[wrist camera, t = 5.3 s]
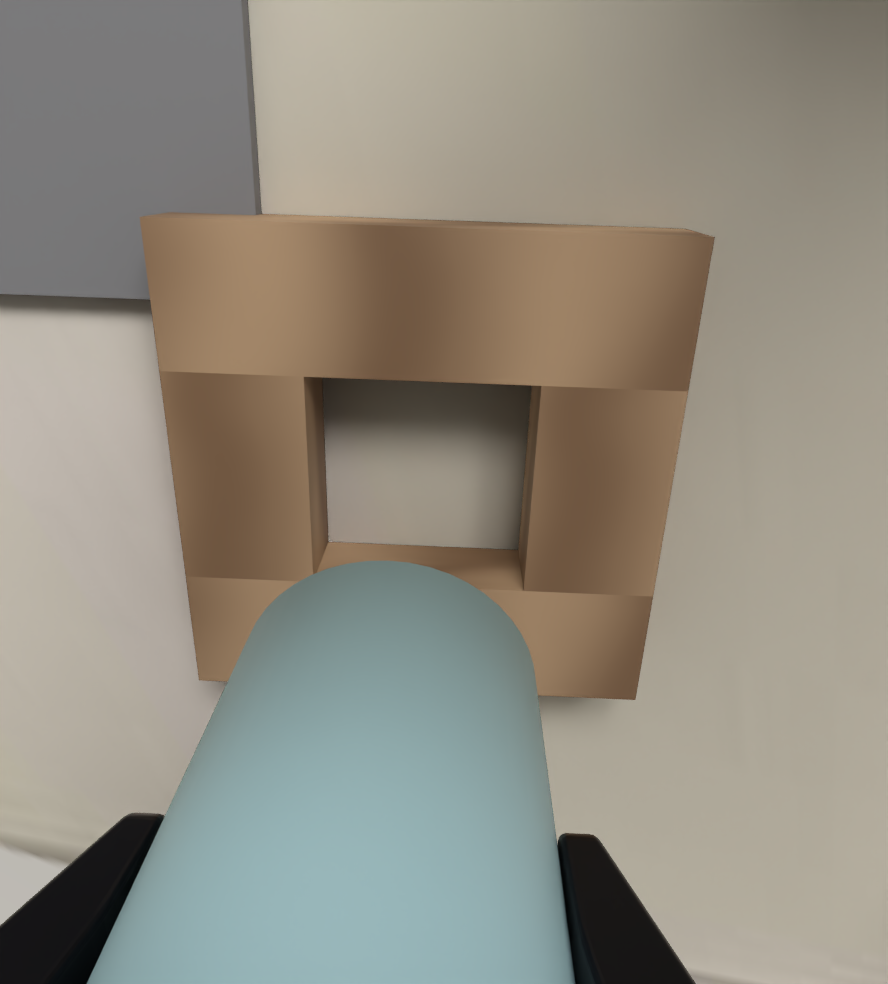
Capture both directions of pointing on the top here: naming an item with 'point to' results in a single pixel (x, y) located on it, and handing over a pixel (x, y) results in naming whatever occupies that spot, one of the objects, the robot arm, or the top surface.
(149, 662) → the top surface
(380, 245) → the pocket block
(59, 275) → the mat
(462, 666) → the peg
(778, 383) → the top surface
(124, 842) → the robot arm
